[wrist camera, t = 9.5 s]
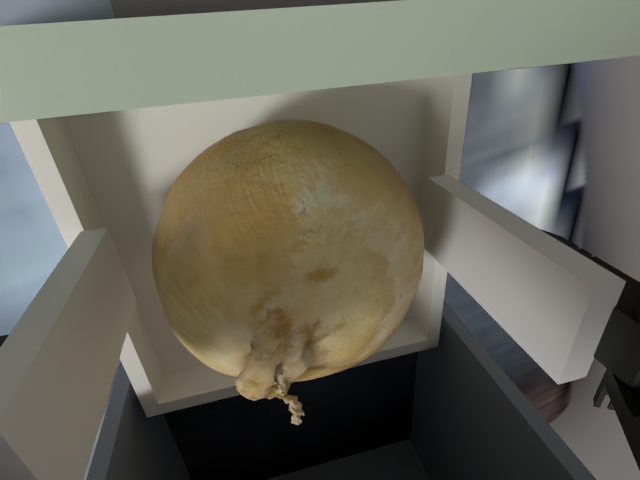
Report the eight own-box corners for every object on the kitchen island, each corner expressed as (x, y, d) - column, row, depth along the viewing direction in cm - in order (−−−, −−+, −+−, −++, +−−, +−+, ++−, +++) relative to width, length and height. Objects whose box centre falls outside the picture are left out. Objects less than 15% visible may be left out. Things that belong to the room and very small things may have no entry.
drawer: (-55, 9, 10) (-676, -50, 3) (479, -21, 12) (793, -88, 6) (122, 378, 17) (59, 613, 10) (439, 307, 20) (558, 454, 13)
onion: (157, 92, 11) (86, 161, 5) (398, 115, 13) (550, 183, 7) (172, 306, 15) (141, 495, 9) (359, 298, 17) (439, 445, 11)
